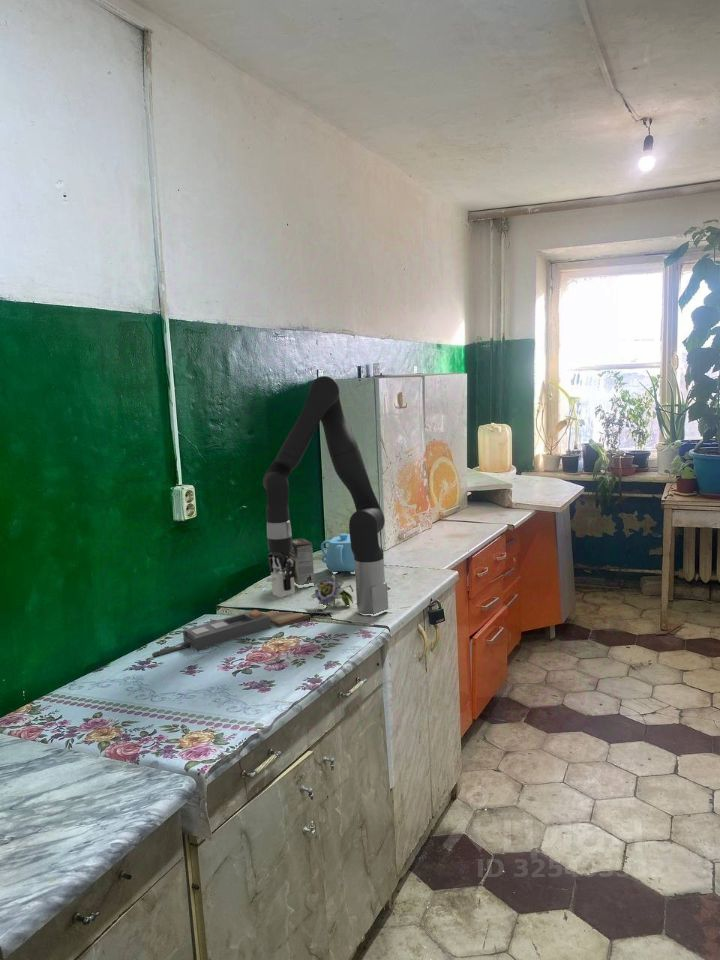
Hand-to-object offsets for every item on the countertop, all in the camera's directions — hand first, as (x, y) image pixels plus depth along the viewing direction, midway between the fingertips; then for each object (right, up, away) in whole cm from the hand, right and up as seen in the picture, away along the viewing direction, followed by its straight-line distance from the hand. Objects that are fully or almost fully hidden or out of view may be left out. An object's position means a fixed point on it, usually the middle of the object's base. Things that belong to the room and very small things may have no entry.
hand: (283, 588), depth 214 cm
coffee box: (+3, -4, +34) cm, 34 cm away
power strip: (-20, -13, -14) cm, 27 cm away
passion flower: (+15, -7, +10) cm, 20 cm away
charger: (-1, -2, -1) cm, 2 cm away
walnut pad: (+1, -9, +1) cm, 9 cm away
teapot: (+20, -1, +48) cm, 52 cm away
